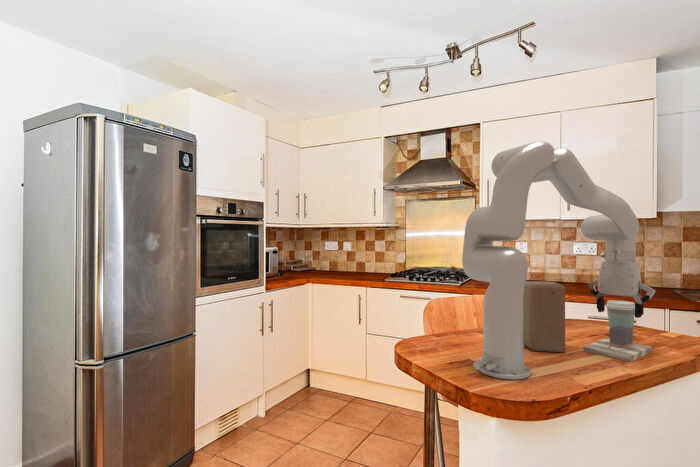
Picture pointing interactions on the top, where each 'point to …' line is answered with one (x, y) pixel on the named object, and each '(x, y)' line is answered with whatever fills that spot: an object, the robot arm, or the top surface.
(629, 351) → the board
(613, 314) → the coffee cup
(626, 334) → the block
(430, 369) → the top surface
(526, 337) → the wooden block
